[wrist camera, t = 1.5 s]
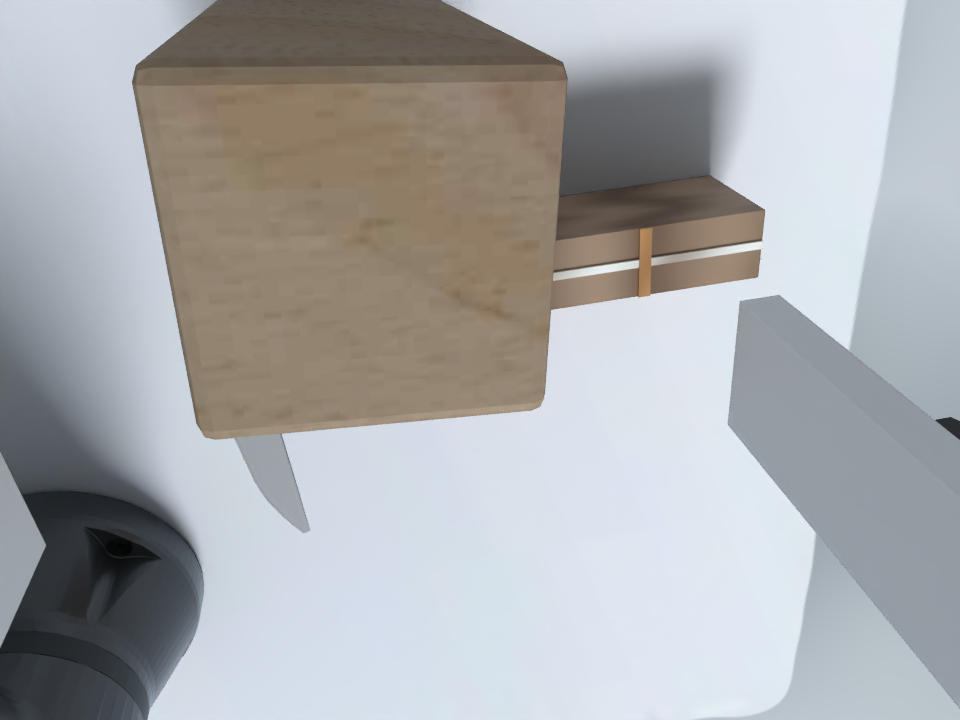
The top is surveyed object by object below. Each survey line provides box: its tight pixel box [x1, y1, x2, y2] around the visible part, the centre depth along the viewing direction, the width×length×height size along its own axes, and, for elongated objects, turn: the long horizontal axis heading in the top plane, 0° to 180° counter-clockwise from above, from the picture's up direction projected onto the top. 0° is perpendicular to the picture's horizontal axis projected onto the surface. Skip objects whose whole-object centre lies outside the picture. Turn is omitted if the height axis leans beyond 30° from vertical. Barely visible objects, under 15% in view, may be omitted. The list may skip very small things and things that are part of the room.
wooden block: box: [132, 0, 567, 439], centre depth 28 cm, size 10×10×20 cm
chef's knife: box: [235, 434, 310, 533], centre depth 44 cm, size 19×1×3 cm
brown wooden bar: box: [551, 176, 765, 310], centre depth 39 cm, size 24×4×6 cm, turn 95°
